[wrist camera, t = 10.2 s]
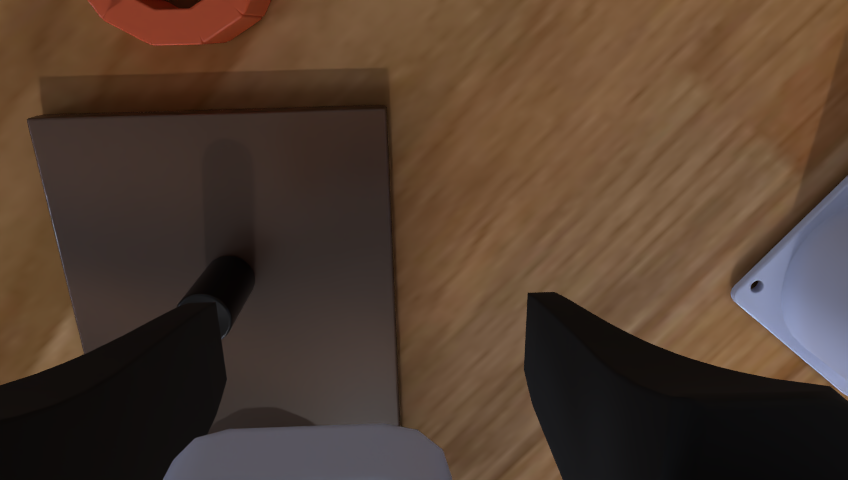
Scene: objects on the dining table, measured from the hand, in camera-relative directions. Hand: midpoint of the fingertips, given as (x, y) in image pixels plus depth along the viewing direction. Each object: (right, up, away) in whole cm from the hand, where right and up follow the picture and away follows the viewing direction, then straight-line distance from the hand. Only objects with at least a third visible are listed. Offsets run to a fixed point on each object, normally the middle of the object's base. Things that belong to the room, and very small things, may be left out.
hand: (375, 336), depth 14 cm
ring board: (-6, -4, +11) cm, 13 cm away
